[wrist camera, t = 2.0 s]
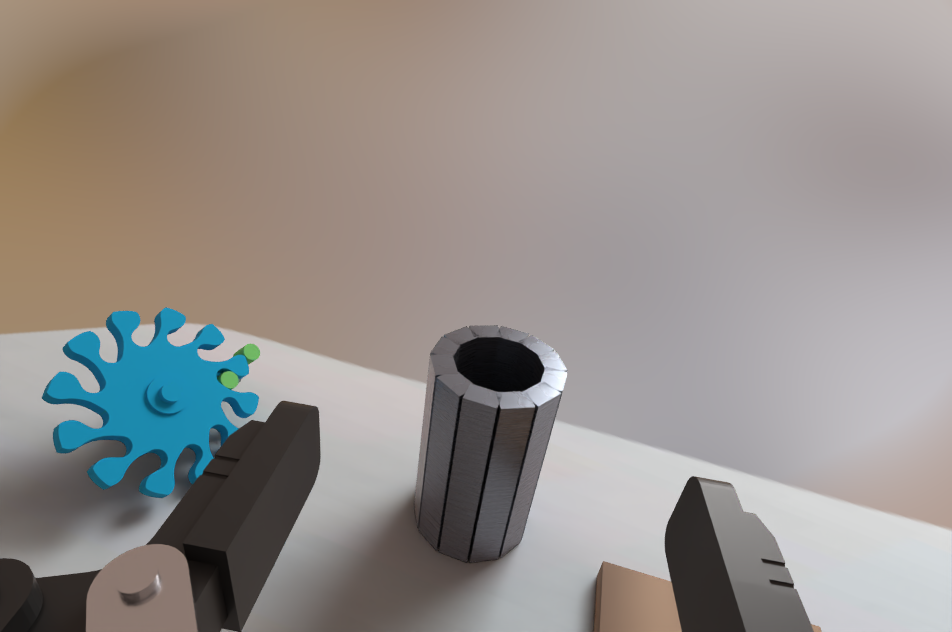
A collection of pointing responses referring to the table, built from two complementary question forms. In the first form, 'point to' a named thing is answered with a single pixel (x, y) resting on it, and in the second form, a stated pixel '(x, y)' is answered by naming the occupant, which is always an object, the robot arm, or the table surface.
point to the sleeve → (484, 438)
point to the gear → (152, 398)
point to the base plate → (635, 602)
